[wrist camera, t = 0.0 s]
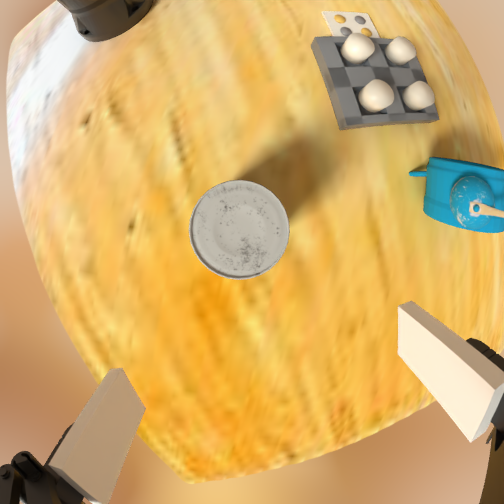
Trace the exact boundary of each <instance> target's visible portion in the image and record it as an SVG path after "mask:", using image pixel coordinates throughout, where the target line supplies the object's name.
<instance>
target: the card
mask: <svg viewBox="0 0 504 504" xmlns="http://www.w3.org/2000/svg"><path fill="white" fill-rule="evenodd" d="M322 15H323V17H324V19H325V21H326V23H327V25H328V27H329V29H330V32H331V34H332V36H348V37H349V35H350V34H352V33H361V34H364V35H366V36H367V37H372V38H380V37H379V34H378V32H377V31H376V29H375V27H374V25H373V23H372V21H371V19H370V17H369V15H368V14H367V13H355V12H337V11H322Z"/></svg>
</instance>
